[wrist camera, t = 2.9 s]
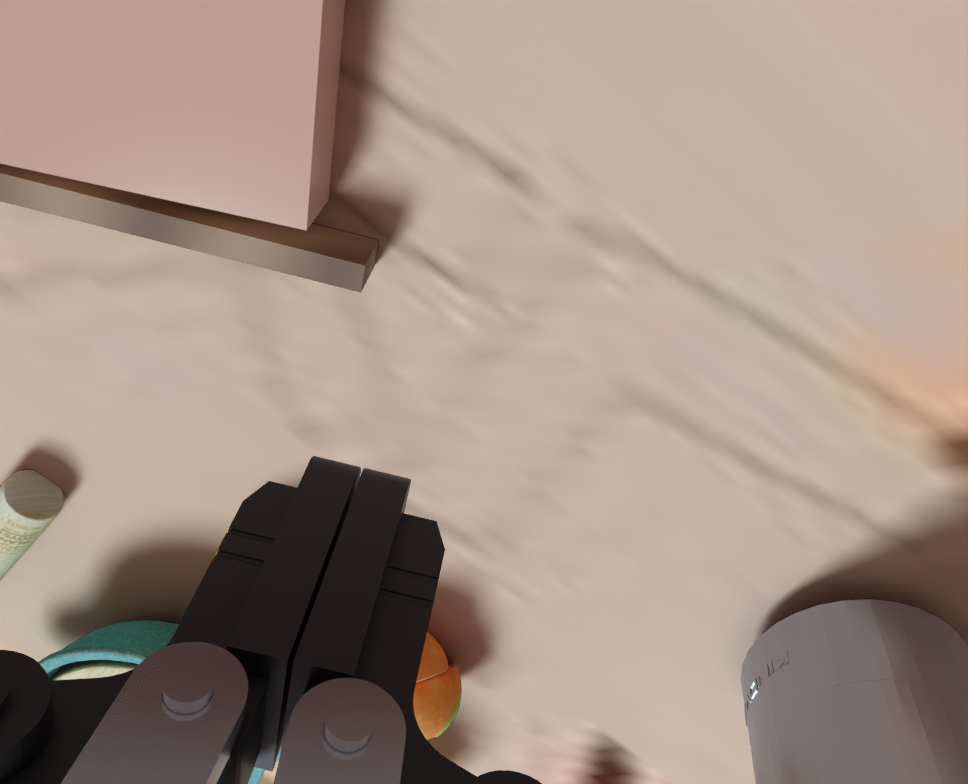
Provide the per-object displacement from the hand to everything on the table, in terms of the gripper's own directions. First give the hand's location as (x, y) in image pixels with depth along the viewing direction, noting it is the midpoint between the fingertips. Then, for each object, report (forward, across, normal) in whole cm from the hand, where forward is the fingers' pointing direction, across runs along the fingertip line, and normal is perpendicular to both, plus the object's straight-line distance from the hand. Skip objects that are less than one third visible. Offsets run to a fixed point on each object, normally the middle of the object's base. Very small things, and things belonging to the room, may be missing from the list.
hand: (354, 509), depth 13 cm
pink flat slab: (+18, +11, 0) cm, 21 cm away
